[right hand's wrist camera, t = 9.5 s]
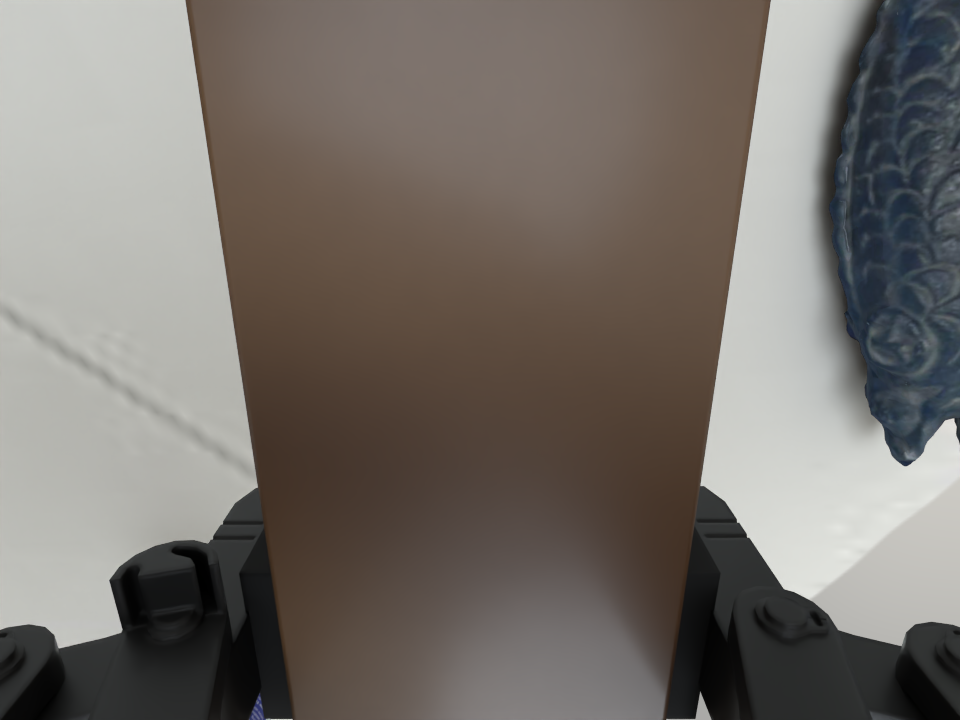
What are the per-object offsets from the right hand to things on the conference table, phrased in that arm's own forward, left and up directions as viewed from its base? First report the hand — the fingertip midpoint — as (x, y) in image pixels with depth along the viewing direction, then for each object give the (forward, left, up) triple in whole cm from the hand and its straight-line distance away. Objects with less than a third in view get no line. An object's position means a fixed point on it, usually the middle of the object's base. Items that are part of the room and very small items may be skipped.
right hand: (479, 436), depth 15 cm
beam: (+3, +25, -1) cm, 25 cm away
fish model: (+19, +2, -13) cm, 23 cm away
